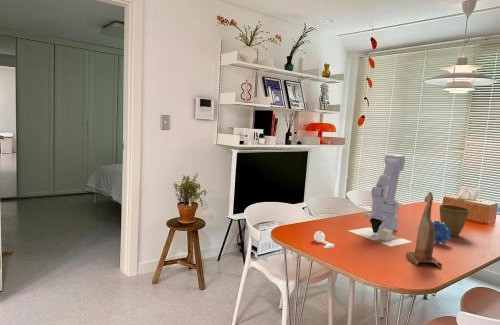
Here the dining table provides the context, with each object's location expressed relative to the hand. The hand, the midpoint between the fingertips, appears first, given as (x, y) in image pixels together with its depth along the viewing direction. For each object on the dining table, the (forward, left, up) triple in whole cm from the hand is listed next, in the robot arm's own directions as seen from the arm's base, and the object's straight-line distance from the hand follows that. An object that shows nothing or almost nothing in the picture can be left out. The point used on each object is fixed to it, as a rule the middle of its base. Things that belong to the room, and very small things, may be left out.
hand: (375, 232), depth 193 cm
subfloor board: (0, +3, -1) cm, 3 cm away
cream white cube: (+2, +8, -2) cm, 8 cm away
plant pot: (-45, +18, -2) cm, 48 cm away
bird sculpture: (+14, +37, -2) cm, 39 cm away
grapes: (-20, +24, -2) cm, 31 cm away
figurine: (+39, 0, -2) cm, 39 cm away
